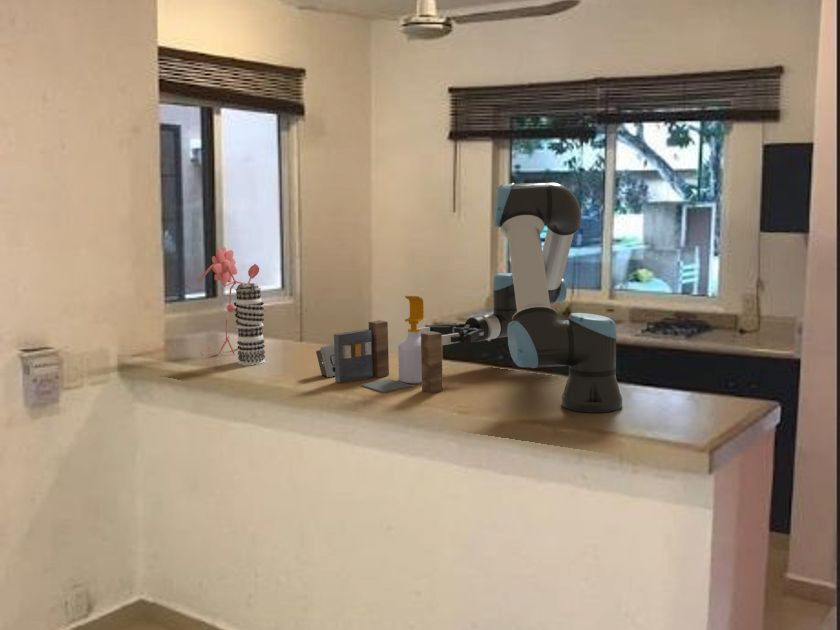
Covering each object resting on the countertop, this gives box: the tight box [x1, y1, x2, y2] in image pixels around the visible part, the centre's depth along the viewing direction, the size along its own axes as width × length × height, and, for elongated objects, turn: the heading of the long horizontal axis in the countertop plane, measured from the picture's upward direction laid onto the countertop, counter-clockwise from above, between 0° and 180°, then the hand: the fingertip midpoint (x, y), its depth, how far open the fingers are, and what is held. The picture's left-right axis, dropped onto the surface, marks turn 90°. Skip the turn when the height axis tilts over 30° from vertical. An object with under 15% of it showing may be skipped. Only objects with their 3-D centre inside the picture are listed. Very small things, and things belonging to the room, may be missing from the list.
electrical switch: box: [315, 343, 335, 378], centre depth 282 cm, size 9×5×9 cm, turn 141°
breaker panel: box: [333, 328, 374, 384], centre depth 273 cm, size 4×12×14 cm, turn 128°
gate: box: [368, 319, 443, 394], centre depth 268 cm, size 29×4×16 cm, turn 38°
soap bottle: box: [397, 295, 425, 384], centre depth 270 cm, size 9×9×25 cm
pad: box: [360, 378, 413, 394], centre depth 266 cm, size 11×10×1 cm
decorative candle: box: [233, 282, 266, 366], centre depth 299 cm, size 9×9×25 cm
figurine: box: [197, 246, 266, 355], centre depth 318 cm, size 15×26×35 cm, turn 150°
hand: (425, 337), depth 273 cm, fingers open, 13 cm apart
